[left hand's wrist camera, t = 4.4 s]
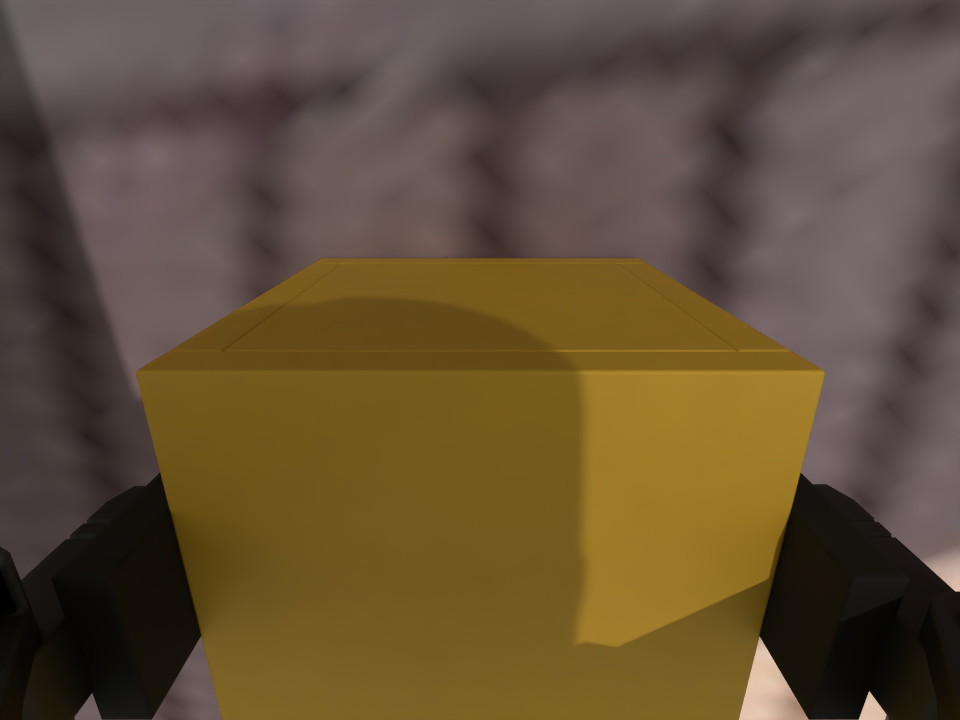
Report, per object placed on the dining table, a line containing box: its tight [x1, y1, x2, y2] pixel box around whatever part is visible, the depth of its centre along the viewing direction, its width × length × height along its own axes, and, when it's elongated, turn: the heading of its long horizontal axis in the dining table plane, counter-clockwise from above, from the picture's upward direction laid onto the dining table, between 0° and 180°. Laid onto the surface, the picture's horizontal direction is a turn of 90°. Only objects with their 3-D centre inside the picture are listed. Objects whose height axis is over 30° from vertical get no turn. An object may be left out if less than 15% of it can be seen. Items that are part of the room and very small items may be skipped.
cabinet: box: [136, 258, 825, 720], centre depth 15 cm, size 17×10×10 cm, turn 0°
